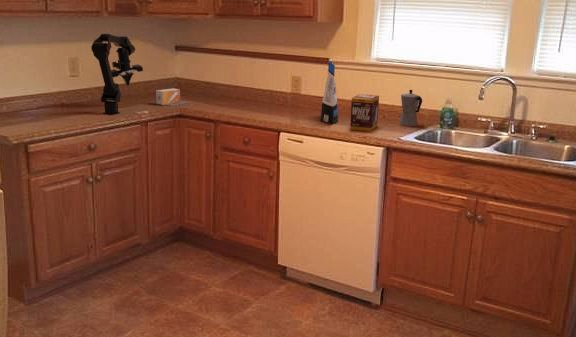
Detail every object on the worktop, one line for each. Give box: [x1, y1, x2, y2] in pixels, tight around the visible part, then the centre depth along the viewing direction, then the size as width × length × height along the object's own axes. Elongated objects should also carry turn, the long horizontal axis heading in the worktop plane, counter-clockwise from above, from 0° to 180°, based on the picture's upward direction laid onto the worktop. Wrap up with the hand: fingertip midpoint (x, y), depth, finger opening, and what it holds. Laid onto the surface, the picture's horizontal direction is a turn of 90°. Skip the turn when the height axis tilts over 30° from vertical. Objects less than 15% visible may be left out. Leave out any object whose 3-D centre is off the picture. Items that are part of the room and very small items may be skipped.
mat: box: [148, 100, 190, 107], centre depth 360 cm, size 16×18×1 cm
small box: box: [155, 88, 181, 106], centre depth 355 cm, size 8×6×13 cm
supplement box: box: [349, 93, 380, 132], centre depth 296 cm, size 10×15×16 cm
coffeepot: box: [398, 89, 423, 127], centre depth 304 cm, size 15×9×18 cm, turn 28°
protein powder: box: [320, 60, 339, 125], centre depth 311 cm, size 10×24×30 cm, turn 3°
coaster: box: [134, 110, 148, 115], centre depth 326 cm, size 7×7×1 cm
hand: (127, 85), depth 340 cm, fingers closed
